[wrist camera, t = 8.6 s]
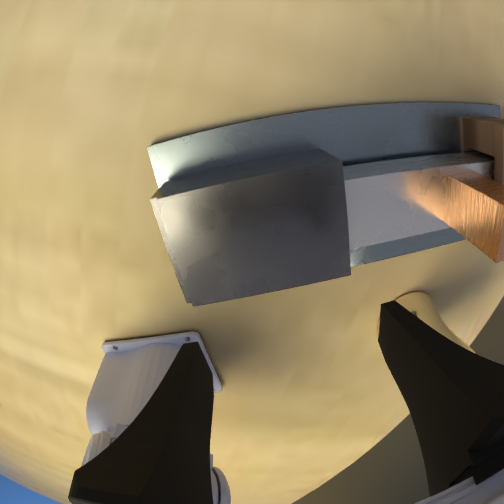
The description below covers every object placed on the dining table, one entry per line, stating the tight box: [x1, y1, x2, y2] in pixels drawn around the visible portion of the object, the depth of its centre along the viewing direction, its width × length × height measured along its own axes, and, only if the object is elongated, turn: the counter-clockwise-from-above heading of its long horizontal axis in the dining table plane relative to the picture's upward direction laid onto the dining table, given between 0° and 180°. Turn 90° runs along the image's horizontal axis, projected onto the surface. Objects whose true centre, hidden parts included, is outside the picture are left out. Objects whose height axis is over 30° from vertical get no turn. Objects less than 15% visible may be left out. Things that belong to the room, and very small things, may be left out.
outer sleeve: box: [147, 102, 500, 306], centre depth 17 cm, size 26×11×5 cm, turn 102°
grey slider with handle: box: [343, 151, 504, 263], centre depth 14 cm, size 16×4×8 cm, turn 102°
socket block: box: [459, 117, 504, 185], centre depth 16 cm, size 4×9×5 cm, turn 12°
